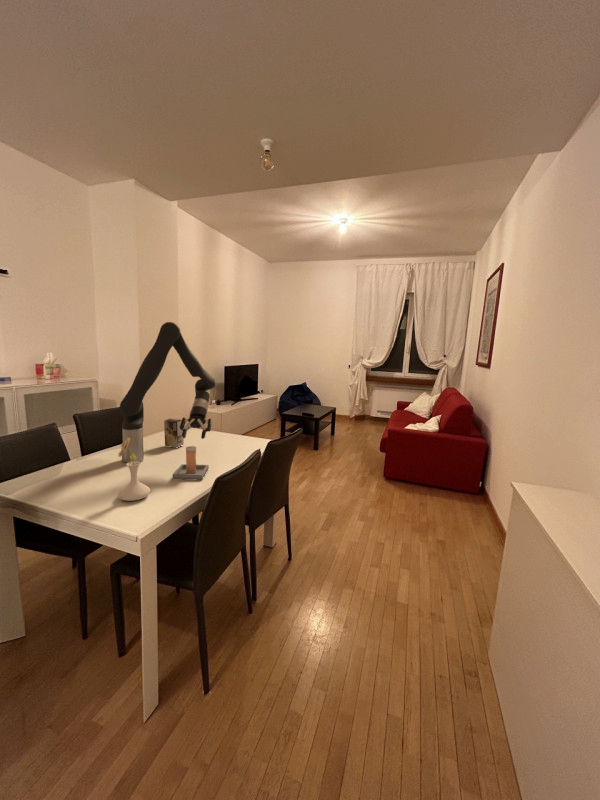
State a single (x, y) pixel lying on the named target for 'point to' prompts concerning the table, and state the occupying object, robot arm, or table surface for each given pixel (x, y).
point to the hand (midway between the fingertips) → (193, 437)
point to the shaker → (191, 460)
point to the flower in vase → (132, 479)
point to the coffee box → (173, 433)
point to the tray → (199, 474)
